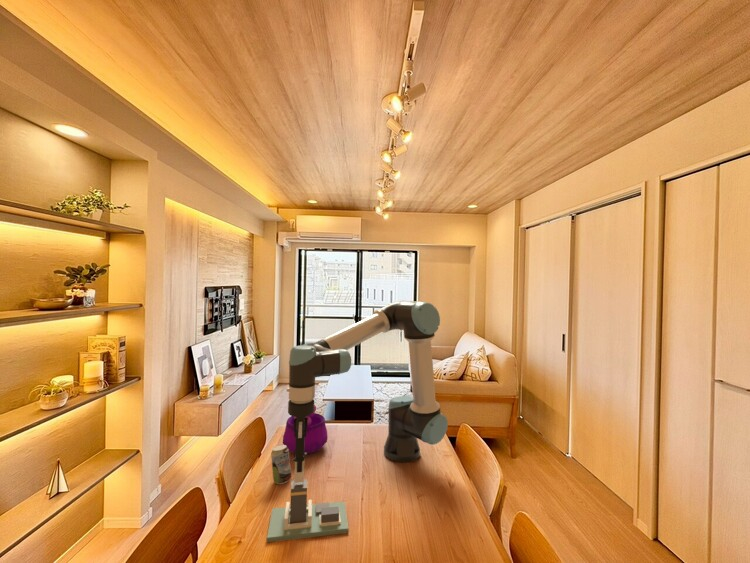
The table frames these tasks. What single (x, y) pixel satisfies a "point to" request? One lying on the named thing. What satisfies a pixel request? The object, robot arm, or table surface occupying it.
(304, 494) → the plug
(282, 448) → the beverage can
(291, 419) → the decorative plant
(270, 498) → the table surface
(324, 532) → the board
